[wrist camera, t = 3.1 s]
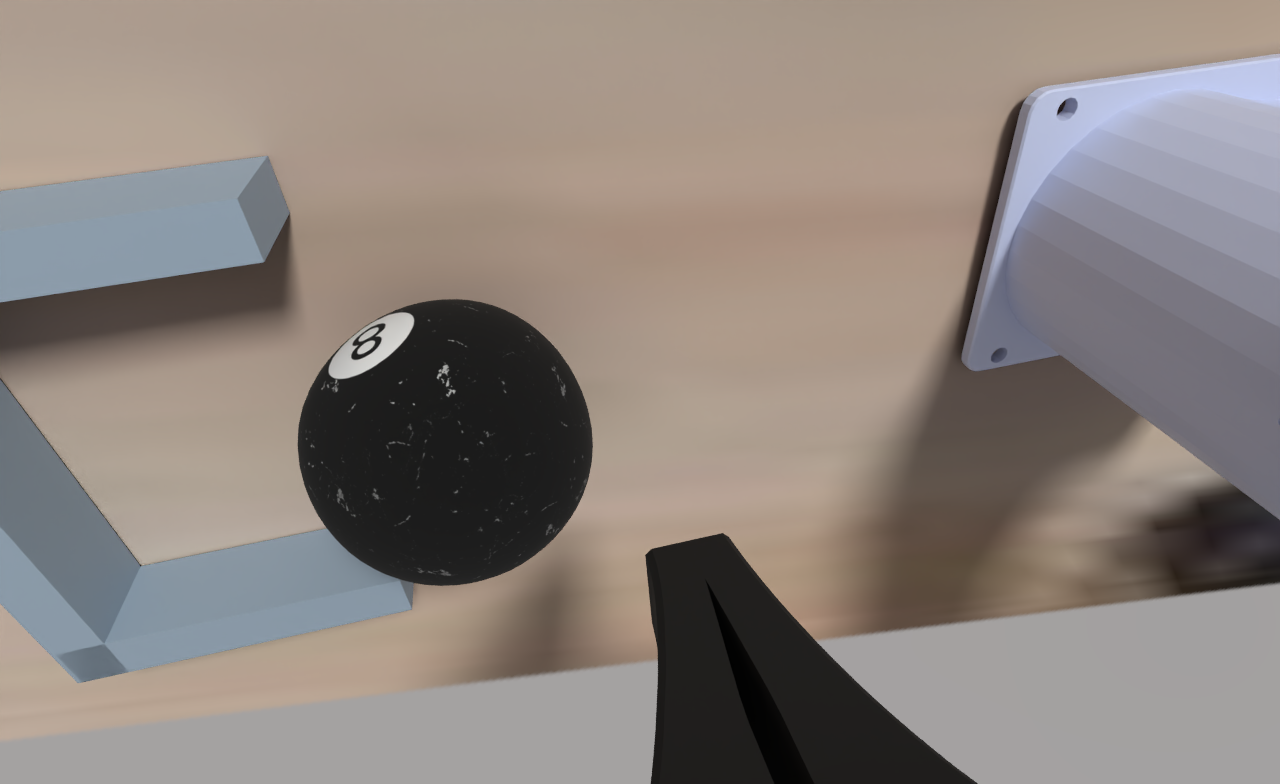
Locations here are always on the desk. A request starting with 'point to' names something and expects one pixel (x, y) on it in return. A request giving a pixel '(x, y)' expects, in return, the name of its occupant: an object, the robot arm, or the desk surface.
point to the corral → (61, 510)
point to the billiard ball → (445, 443)
